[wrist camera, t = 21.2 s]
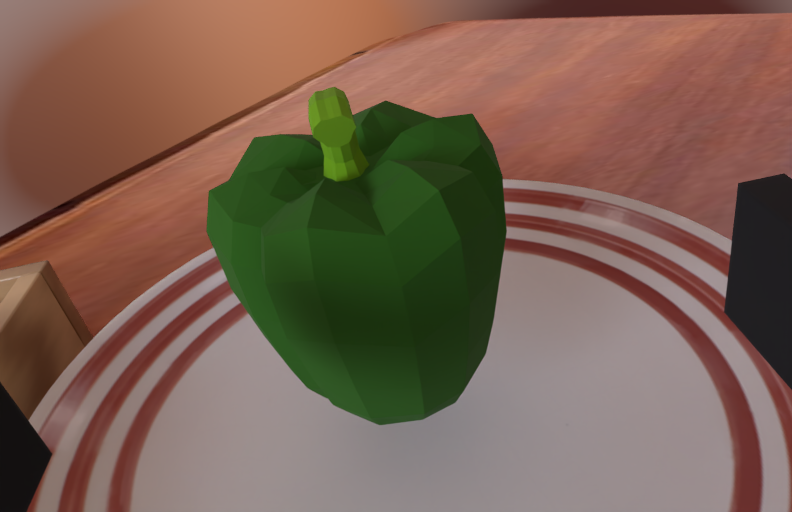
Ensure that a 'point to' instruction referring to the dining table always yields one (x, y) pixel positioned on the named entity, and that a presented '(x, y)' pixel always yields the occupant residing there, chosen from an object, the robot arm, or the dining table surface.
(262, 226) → the bell pepper
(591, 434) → the dinner plate
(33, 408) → the crate
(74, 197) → the dining table surface
